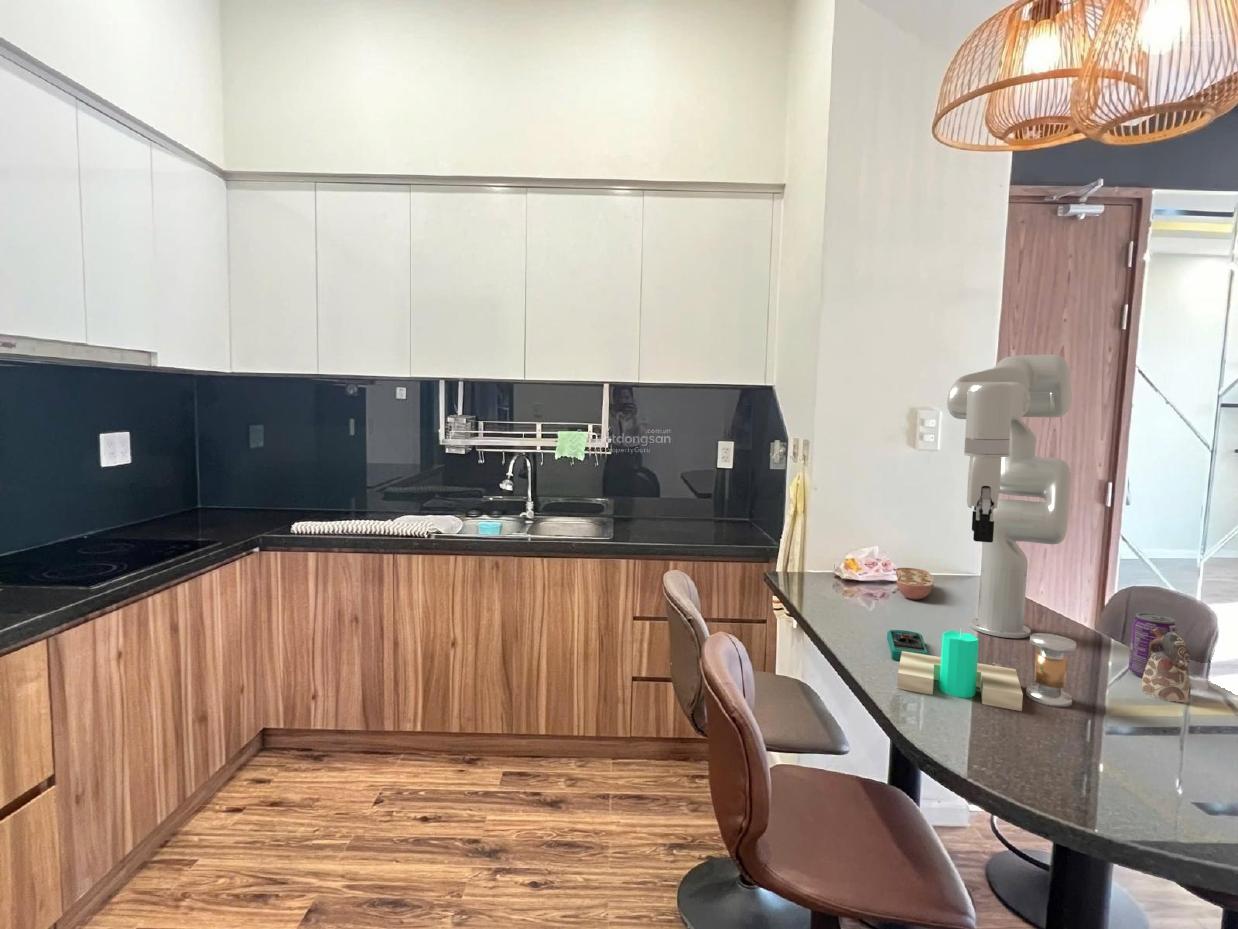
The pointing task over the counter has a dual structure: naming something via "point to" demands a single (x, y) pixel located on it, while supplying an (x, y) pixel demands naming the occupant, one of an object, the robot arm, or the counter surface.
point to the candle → (958, 664)
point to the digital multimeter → (905, 643)
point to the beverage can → (1146, 638)
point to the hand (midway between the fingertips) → (981, 536)
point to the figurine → (1168, 668)
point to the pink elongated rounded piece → (914, 582)
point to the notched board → (992, 680)
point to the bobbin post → (1051, 670)
